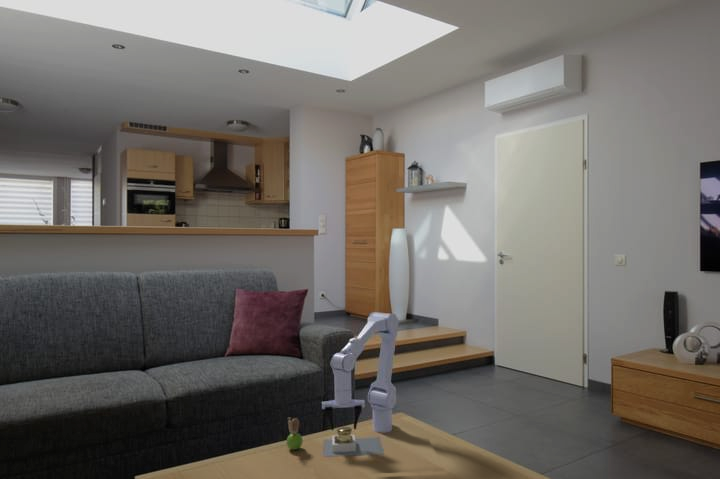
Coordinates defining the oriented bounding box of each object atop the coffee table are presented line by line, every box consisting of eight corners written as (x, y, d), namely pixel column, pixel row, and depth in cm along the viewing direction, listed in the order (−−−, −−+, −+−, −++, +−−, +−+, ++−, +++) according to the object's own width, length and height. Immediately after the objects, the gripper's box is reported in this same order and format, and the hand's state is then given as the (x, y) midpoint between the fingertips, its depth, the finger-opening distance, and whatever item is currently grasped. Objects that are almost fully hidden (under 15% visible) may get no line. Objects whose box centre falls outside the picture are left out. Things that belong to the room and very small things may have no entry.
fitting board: (323, 442, 175) (323, 432, 175) (379, 440, 177) (379, 430, 177) (323, 459, 161) (323, 448, 161) (384, 457, 163) (384, 446, 163)
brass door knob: (337, 444, 171) (336, 427, 171) (351, 443, 171) (351, 426, 171) (337, 450, 166) (337, 432, 166) (352, 449, 166) (351, 431, 166)
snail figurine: (282, 452, 168) (281, 416, 168) (291, 445, 174) (291, 410, 174) (296, 454, 166) (295, 418, 166) (305, 447, 172) (305, 412, 172)
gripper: (321, 393, 165) (322, 434, 165) (365, 391, 166) (365, 432, 166) (321, 386, 172) (322, 426, 172) (363, 385, 173) (364, 424, 173)
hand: (343, 428), depth 169 cm, fingers open, 7 cm apart
